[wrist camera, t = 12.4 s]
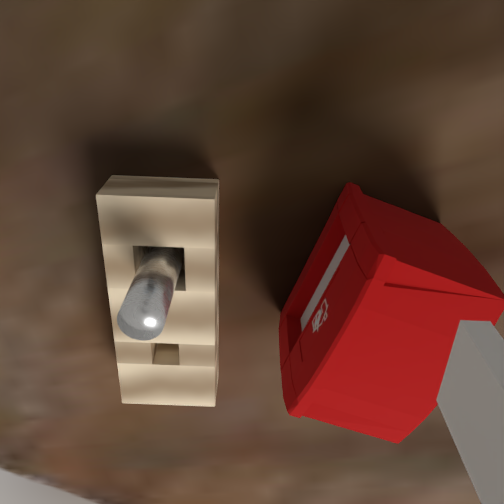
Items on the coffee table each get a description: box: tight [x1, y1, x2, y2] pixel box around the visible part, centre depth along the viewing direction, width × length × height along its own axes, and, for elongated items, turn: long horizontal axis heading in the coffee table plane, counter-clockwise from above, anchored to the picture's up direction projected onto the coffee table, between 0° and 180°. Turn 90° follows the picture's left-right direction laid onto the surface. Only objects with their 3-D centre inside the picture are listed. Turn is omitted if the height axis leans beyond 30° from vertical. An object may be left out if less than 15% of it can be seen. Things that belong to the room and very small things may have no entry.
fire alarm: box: [279, 182, 504, 443], centre depth 42 cm, size 16×11×15 cm
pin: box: [117, 246, 185, 341], centre depth 42 cm, size 4×4×12 cm
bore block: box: [96, 175, 219, 407], centre depth 48 cm, size 24×10×5 cm, turn 178°
